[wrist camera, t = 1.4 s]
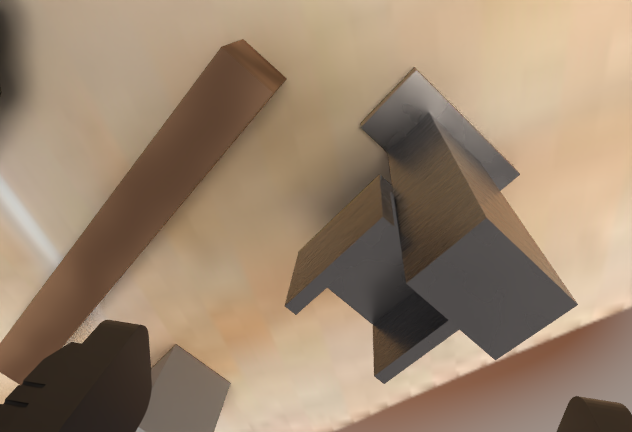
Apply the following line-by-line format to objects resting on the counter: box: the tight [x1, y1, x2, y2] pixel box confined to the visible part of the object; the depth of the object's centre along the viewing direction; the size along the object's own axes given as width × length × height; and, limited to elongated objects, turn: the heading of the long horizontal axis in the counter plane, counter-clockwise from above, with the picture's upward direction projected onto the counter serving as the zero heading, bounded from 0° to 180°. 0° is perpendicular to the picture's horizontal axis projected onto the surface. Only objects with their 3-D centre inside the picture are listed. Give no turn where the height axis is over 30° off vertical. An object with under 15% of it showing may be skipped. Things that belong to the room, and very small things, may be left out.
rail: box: [0, 39, 286, 385], centre depth 29 cm, size 3×26×4 cm, turn 138°
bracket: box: [285, 67, 578, 384], centre depth 21 cm, size 8×10×14 cm
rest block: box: [136, 345, 230, 432], centre depth 33 cm, size 5×5×7 cm
